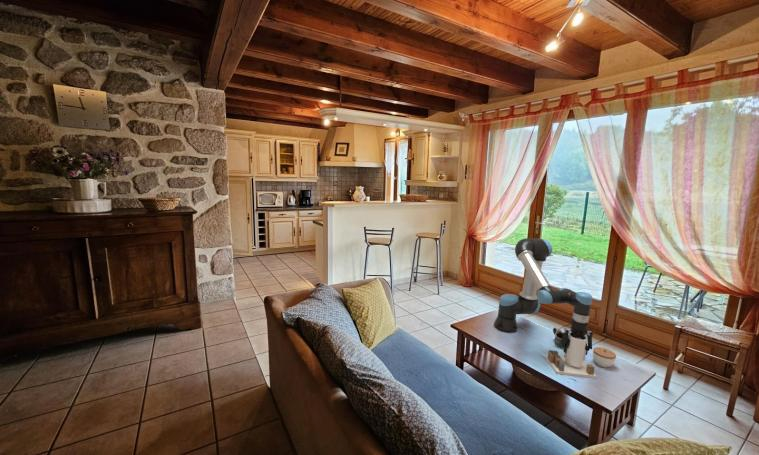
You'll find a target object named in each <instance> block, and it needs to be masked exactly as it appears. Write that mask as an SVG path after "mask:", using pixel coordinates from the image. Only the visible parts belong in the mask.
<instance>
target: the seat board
mask: <svg viewBox="0 0 759 455" xmlns="http://www.w3.org/2000/svg"><path fill="white" fill-rule="evenodd" d="M551 351H554V350H552V349H549V350H548V352H547V354H544V358H545V359H546V361H547V362H548V364H549V366H550V367H551V369H552V370H553V371H554V373H555V374H556V375H562V376H568V377H578V378H587V379H594V380H595V379H597V378H598V377H597V374H595V366H594V365H593V364H591V363H590V364H589V363H586V362H585V361H583V364H582V366H581V367H575V366H572V365H569V364H568V363H566V361H565V357H564V355H559V356H560V357H561V358H562V360H563V361H562V360H560V362H559V367H556V365H555V364H554V363H553V361H554V356H553V354H552V353H551Z"/></svg>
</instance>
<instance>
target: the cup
mask: <svg viewBox="0 0 759 455" xmlns="http://www.w3.org/2000/svg"><path fill="white" fill-rule="evenodd" d="M570 334H571V332H570V333H569V339H570V345H569V346H568V348H569V353H568V359H565V361H566V363H568V364H569V365H572V366H575V367H581V366H582V364H583V358H584V352H585V345H586V343H587V336H585V339H584V340H582V339H581V338H580V337H576V338H574V337H572V336H571V335H570Z"/></svg>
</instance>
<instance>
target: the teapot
mask: <svg viewBox="0 0 759 455" xmlns="http://www.w3.org/2000/svg"><path fill="white" fill-rule="evenodd" d="M552 332H553V335H554V343H555V345H556V346H557V347H559V348H562V349H564V347H563V346H562V345H561V344H560V343H561V340H562V338H563V335H564V332H563V331H562V330H561V329H560V328H559V327H557V326H555V327H553V329H552ZM568 338H569V335H568ZM568 338H567V339H568Z"/></svg>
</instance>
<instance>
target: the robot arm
mask: <svg viewBox="0 0 759 455" xmlns="http://www.w3.org/2000/svg"><path fill="white" fill-rule="evenodd" d="M514 247H515V248H514V252H515V253H514V254H515V256H516V258H517V260H518V261H519V262H521V264H522V265H523V267H524V269H525V276H524V281H523V285H522V286H523V287H522V291H520V292H519V293H518V295H516V294H513V293H505V294H502V295H501V296H500V298H499V301H498V312H497V317H496V318H495V320H494V324H493V328H495V329H496V330H498V331H500V332H503V333H507V334H514V333H517V332H518V323H517V315H533V314H534V315H535V314H537V313H538V312H539V311H540V308H541V304H543V305H552V304H553V305H554V304H555V305H557V304H559V305H560V304H563V305H566V304H568V305H570V306H572V307H573V313H572V317H571V318H572V319H571V325H570V328H566V327H565V328H564V329H563V330H564V332H563V333H564V335H563V338H562V340H561V343H560V344H561V345H562V346H563V347H564V348H562V349H563V350H562V351H563V353H564V354H563V356H564V357H565V359H568V353H569V348H568V346H569V345H570V339H569V338H568V335H569V333H571V334H570V335H571V336H572V337H574V338H576V337H580V338H581V339H582V340H584V339H585V337H586V338H587V339H586V345H585V352H584V358H583V361H584V362H585V360H586V356H588V353H589V351H590V350H593V336H594V335H593V334H594V333H593V332H592V331H591V330H588V327H589V322H590V315H591V309H592V305H593V296H592V294H590V293H588V292H585V291H577V292H576V291H573V290H572V289H570V288H568V287H567V288H566V287H562V288H560V289H554V288H553V287H552V286H551V284H550V283H549V280H548V279H547V277H546V276H545V274H544V272H543V271H542V266H543V263H544V262H546V261H547V257H551V255H552V254H553V247H552V244H551V242H550V241H549V240H547V239H546V238H526V237H525V238H522V239H520V240H519V241H517V243H516V244H515V246H514ZM586 335H587V336H586ZM567 338H568V339H567Z"/></svg>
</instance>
